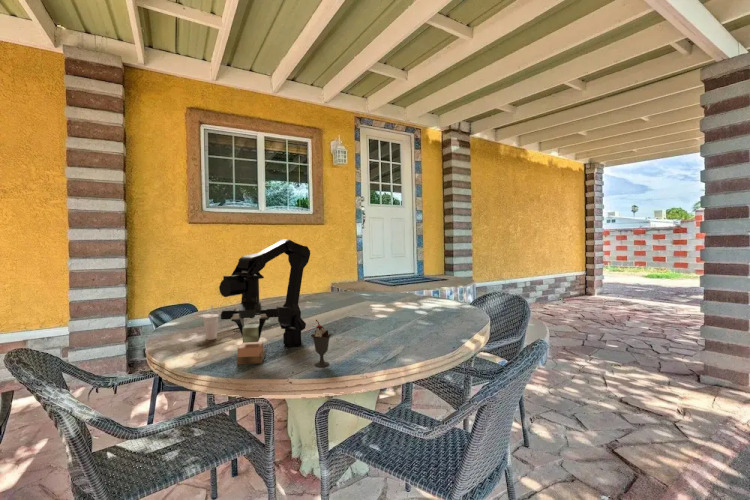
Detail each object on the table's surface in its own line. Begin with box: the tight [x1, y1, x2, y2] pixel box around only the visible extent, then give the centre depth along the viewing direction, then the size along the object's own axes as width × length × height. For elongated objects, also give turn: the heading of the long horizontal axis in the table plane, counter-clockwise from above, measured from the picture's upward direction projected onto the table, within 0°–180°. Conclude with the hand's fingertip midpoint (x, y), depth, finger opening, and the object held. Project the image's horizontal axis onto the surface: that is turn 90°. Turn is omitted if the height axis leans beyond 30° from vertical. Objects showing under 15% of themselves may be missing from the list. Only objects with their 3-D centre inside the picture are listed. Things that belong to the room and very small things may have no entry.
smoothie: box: [202, 305, 220, 341], centre depth 155 cm, size 6×6×14 cm
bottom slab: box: [236, 348, 266, 365], centre depth 128 cm, size 8×8×3 cm
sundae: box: [310, 319, 332, 368], centre depth 122 cm, size 7×7×15 cm
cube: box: [242, 323, 261, 343], centre depth 127 cm, size 5×5×5 cm
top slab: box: [237, 341, 264, 357], centre depth 127 cm, size 7×7×3 cm
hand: (251, 337), depth 127 cm, fingers closed on cube, 5 cm apart
